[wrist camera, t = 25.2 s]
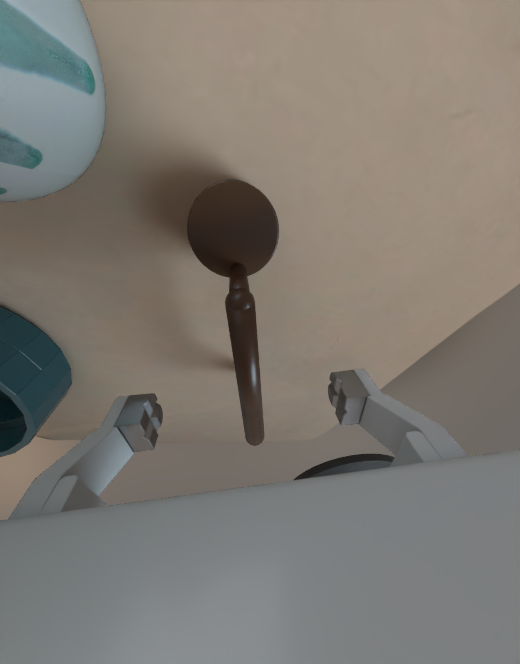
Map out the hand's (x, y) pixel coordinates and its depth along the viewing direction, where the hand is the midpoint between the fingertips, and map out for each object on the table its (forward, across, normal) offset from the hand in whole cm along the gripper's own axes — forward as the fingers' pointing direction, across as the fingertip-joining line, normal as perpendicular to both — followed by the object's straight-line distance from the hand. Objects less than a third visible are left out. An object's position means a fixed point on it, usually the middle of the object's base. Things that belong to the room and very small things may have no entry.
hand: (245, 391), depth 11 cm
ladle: (+12, 0, +1) cm, 12 cm away
